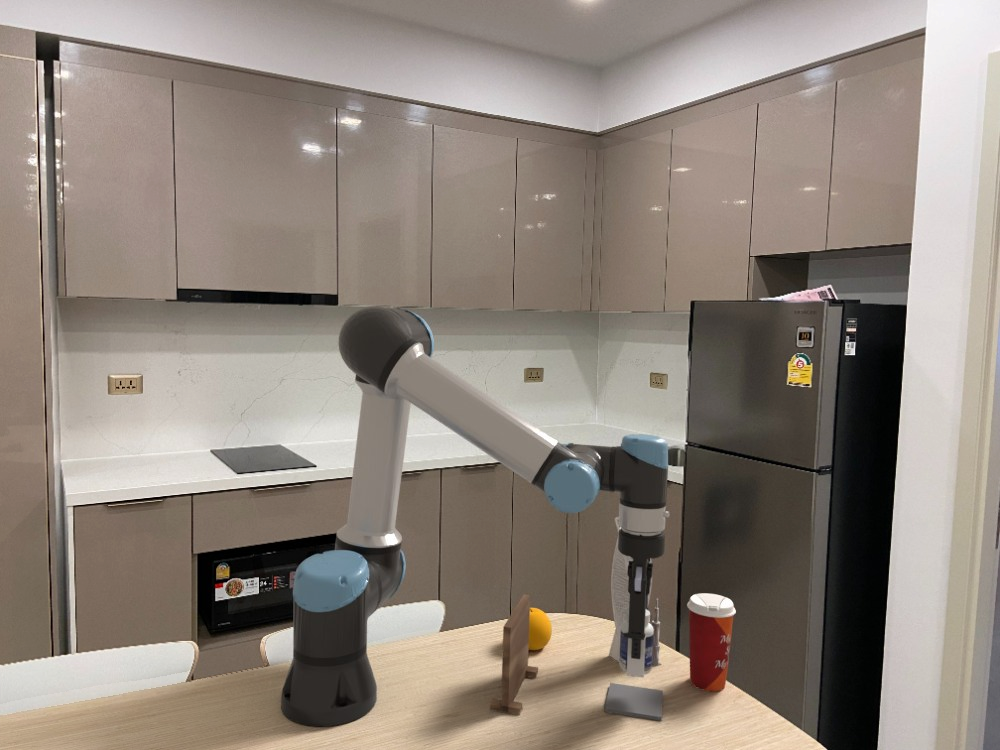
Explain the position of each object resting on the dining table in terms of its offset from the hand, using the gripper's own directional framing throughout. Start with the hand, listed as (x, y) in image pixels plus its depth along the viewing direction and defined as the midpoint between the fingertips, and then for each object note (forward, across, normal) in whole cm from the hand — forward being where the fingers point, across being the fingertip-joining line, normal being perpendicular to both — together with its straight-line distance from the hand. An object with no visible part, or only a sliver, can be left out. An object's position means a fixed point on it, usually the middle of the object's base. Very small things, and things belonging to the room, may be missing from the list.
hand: (636, 666), depth 121 cm
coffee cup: (+6, +11, -12) cm, 17 cm away
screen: (+6, -2, +20) cm, 21 cm away
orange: (+6, +16, +21) cm, 27 cm away
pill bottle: (+1, 0, 0) cm, 1 cm away
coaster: (+6, 0, 0) cm, 6 cm away
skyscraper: (+7, +16, +2) cm, 17 cm away
